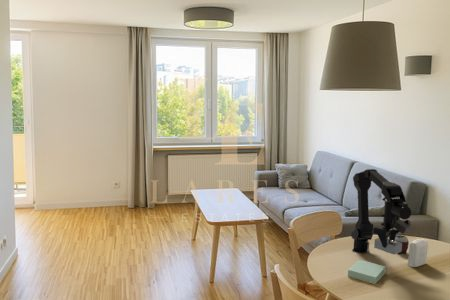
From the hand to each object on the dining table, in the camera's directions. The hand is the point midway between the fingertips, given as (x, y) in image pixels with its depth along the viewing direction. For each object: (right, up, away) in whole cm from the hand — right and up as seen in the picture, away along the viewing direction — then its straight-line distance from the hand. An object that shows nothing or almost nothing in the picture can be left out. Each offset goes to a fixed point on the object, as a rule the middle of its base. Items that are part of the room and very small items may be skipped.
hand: (388, 245), depth 198 cm
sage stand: (-11, -12, -5) cm, 17 cm away
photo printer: (+16, -11, +7) cm, 21 cm away
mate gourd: (+14, -8, +23) cm, 28 cm away
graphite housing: (0, -2, 0) cm, 2 cm away
